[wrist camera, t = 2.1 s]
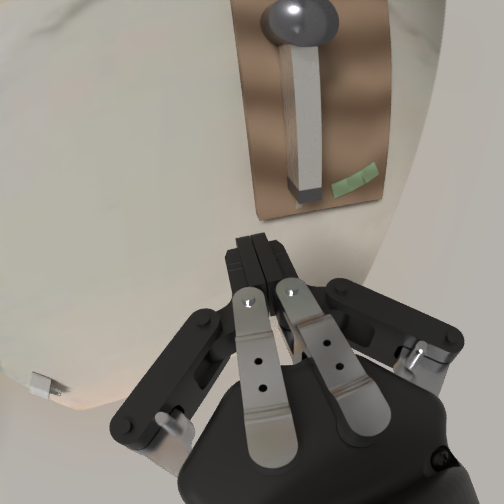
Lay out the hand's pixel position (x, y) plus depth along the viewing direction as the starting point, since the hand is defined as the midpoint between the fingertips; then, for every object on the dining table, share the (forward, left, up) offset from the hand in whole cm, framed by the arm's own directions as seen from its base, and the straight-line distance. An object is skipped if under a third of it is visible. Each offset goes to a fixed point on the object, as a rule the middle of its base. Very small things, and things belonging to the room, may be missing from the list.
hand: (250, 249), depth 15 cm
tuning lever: (-6, +7, -11) cm, 14 cm away
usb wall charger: (+33, -44, -13) cm, 56 cm away
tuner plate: (-5, +10, -13) cm, 17 cm away
